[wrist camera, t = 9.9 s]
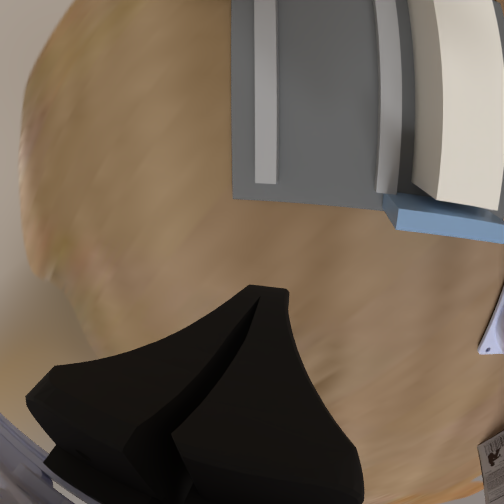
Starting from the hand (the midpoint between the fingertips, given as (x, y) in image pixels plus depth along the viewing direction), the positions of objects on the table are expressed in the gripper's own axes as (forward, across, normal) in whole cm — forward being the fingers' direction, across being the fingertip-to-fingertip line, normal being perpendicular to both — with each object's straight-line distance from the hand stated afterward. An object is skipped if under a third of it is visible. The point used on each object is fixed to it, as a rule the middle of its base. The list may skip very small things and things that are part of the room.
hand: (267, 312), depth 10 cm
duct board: (+9, -5, -10) cm, 14 cm away
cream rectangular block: (+9, -8, -9) cm, 15 cm away
